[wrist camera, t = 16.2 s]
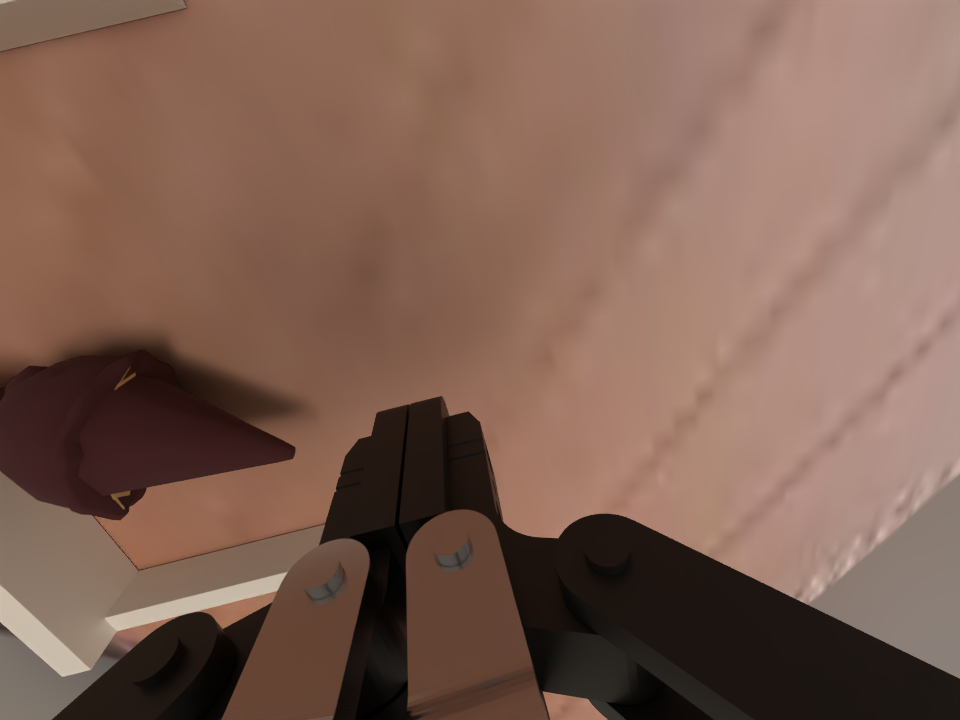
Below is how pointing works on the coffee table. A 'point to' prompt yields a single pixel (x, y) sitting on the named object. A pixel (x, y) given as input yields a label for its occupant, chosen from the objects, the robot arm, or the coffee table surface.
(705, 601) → the robot arm
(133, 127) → the coffee table surface
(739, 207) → the coffee table surface
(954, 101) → the coffee table surface
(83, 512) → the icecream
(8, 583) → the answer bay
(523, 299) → the coffee table surface
